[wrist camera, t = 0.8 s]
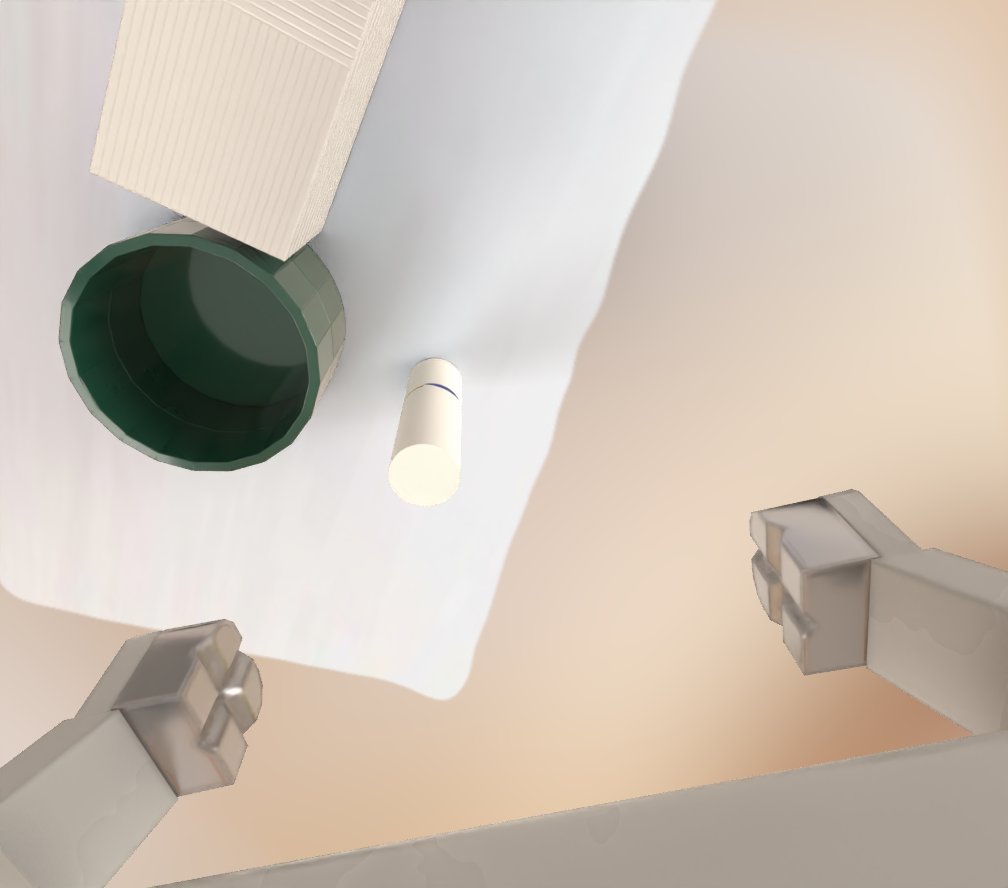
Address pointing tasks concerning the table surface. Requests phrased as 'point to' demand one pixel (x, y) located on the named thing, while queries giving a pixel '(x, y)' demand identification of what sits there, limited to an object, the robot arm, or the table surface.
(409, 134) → the table surface
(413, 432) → the tube
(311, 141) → the cream long block
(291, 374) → the pot
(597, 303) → the table surface
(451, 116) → the table surface
